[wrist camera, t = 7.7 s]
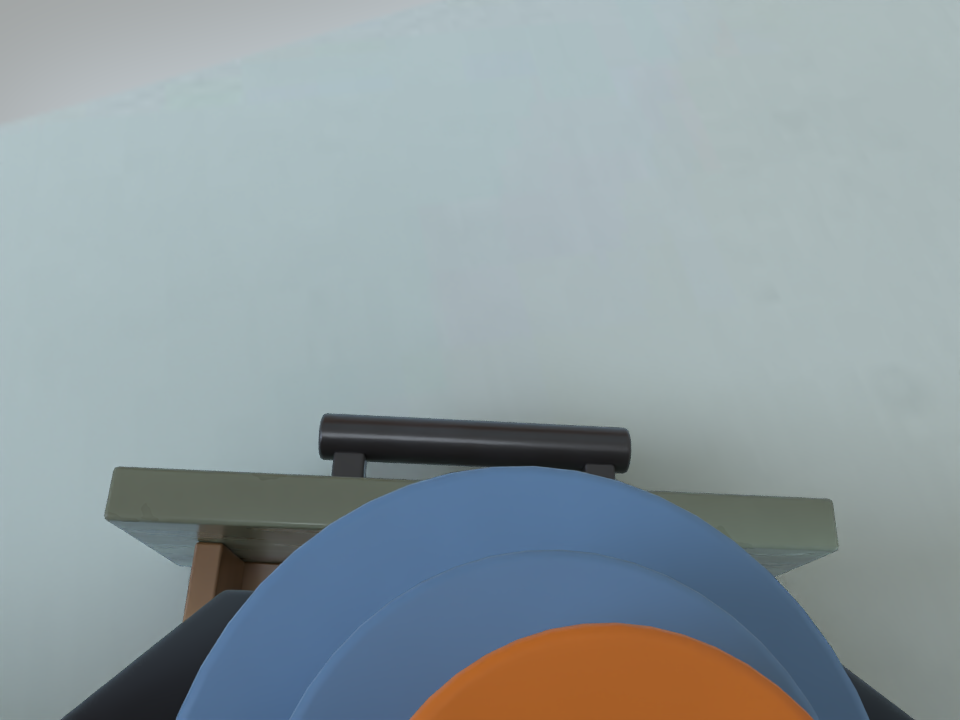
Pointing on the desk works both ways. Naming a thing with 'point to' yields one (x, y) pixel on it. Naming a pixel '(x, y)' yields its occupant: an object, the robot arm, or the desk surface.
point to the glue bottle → (521, 615)
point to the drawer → (363, 438)
